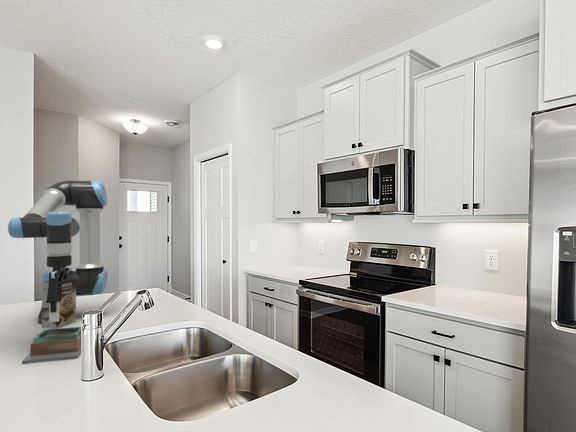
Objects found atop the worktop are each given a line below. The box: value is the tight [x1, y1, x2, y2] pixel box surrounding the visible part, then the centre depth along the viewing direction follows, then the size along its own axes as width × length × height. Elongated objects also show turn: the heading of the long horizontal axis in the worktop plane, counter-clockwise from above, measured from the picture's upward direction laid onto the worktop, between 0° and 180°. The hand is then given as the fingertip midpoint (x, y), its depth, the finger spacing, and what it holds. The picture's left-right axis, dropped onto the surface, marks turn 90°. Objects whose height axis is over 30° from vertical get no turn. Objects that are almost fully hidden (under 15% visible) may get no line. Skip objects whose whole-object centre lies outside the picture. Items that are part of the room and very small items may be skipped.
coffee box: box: [41, 278, 77, 330], centre depth 130 cm, size 9×6×16 cm
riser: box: [29, 326, 82, 356], centre depth 130 cm, size 12×14×6 cm
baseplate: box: [21, 347, 82, 365], centre depth 130 cm, size 20×16×1 cm
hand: (59, 317), depth 130 cm, fingers closed on coffee box, 10 cm apart
